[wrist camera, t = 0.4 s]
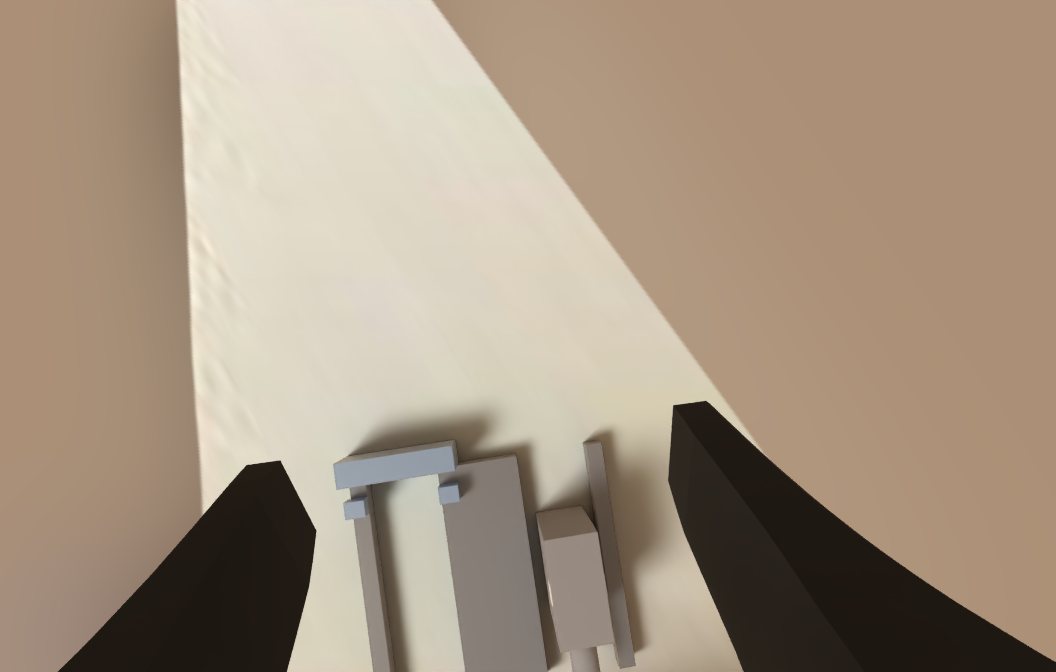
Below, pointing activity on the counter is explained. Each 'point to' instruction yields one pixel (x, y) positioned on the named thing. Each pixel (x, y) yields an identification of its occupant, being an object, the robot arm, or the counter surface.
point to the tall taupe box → (575, 585)
